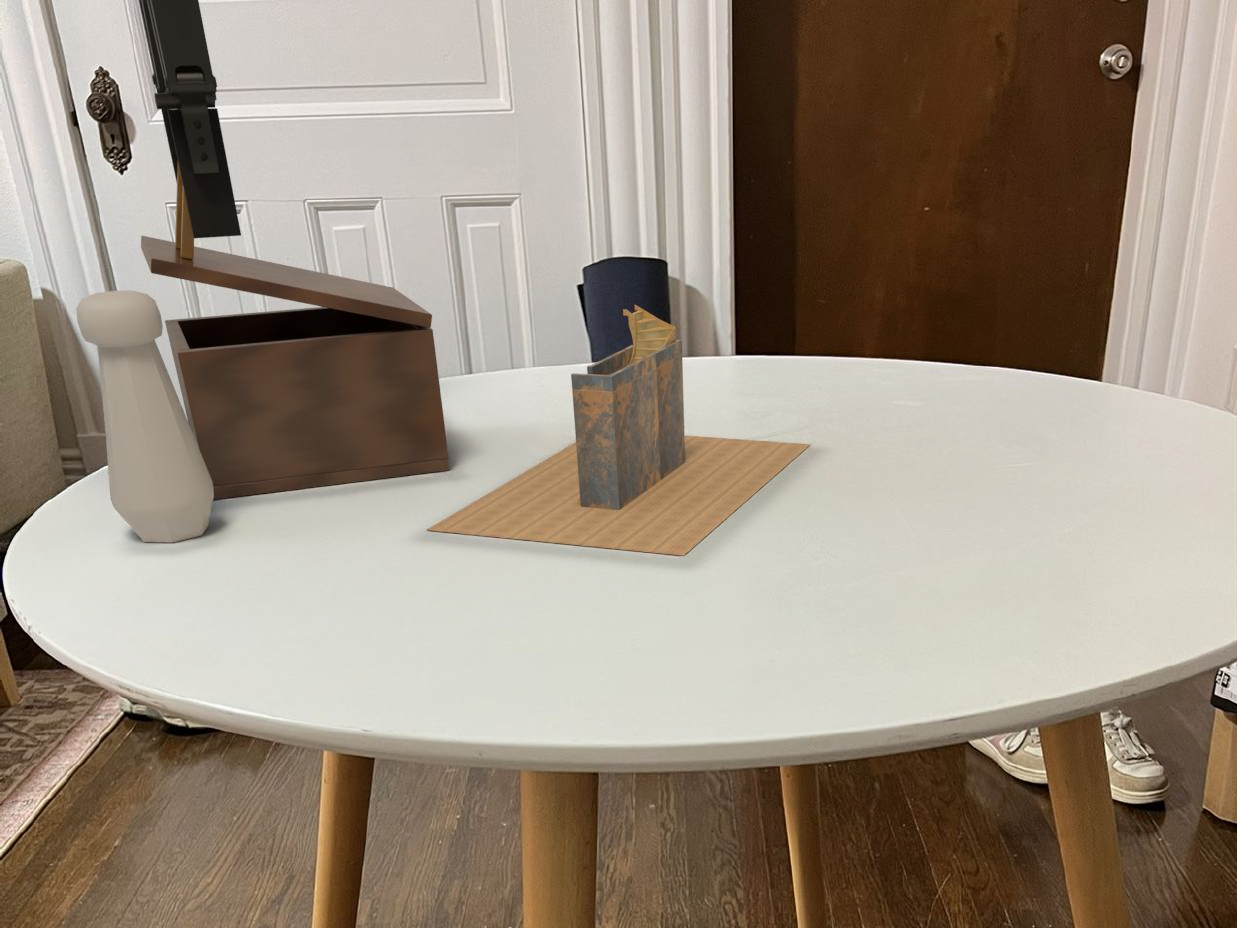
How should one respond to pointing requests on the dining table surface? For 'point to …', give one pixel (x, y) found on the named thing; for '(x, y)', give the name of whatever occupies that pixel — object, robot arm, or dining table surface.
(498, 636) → the dining table surface
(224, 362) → the box
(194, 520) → the salt shaker
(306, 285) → the caddy lid
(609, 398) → the architectural model on board
